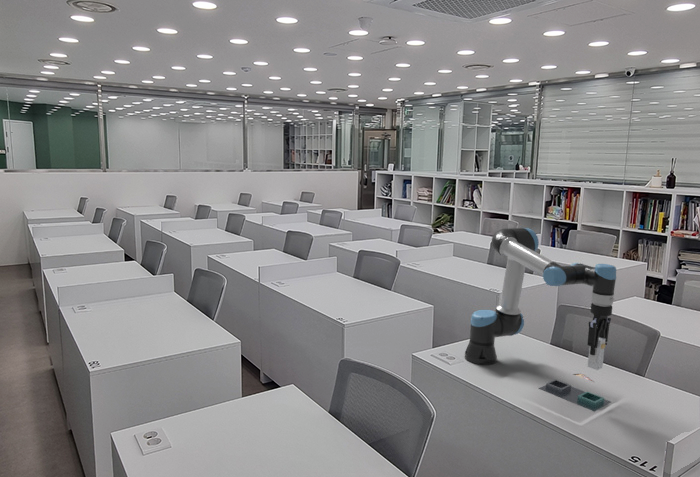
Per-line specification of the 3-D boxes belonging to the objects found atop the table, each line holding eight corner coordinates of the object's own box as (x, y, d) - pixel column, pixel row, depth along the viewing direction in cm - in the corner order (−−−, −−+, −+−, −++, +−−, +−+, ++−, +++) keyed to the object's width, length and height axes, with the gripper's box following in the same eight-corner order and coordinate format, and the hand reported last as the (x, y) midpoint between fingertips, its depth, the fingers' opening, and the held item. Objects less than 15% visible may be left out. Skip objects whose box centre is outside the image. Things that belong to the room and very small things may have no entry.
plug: (587, 366, 205) (590, 337, 203) (592, 364, 208) (595, 335, 206) (598, 370, 202) (602, 341, 200) (603, 368, 204) (607, 339, 202)
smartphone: (588, 391, 220) (567, 376, 235) (603, 389, 222) (582, 375, 236) (588, 389, 220) (567, 374, 235) (603, 387, 222) (582, 373, 236)
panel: (538, 390, 218) (538, 383, 217) (555, 382, 226) (556, 376, 226) (593, 413, 199) (594, 406, 199) (611, 404, 208) (611, 397, 207)
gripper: (600, 309, 193) (594, 369, 196) (621, 303, 203) (615, 359, 207) (581, 304, 199) (575, 362, 202) (602, 298, 209) (596, 353, 213)
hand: (595, 361), depth 204 cm, fingers closed on plug, 4 cm apart
